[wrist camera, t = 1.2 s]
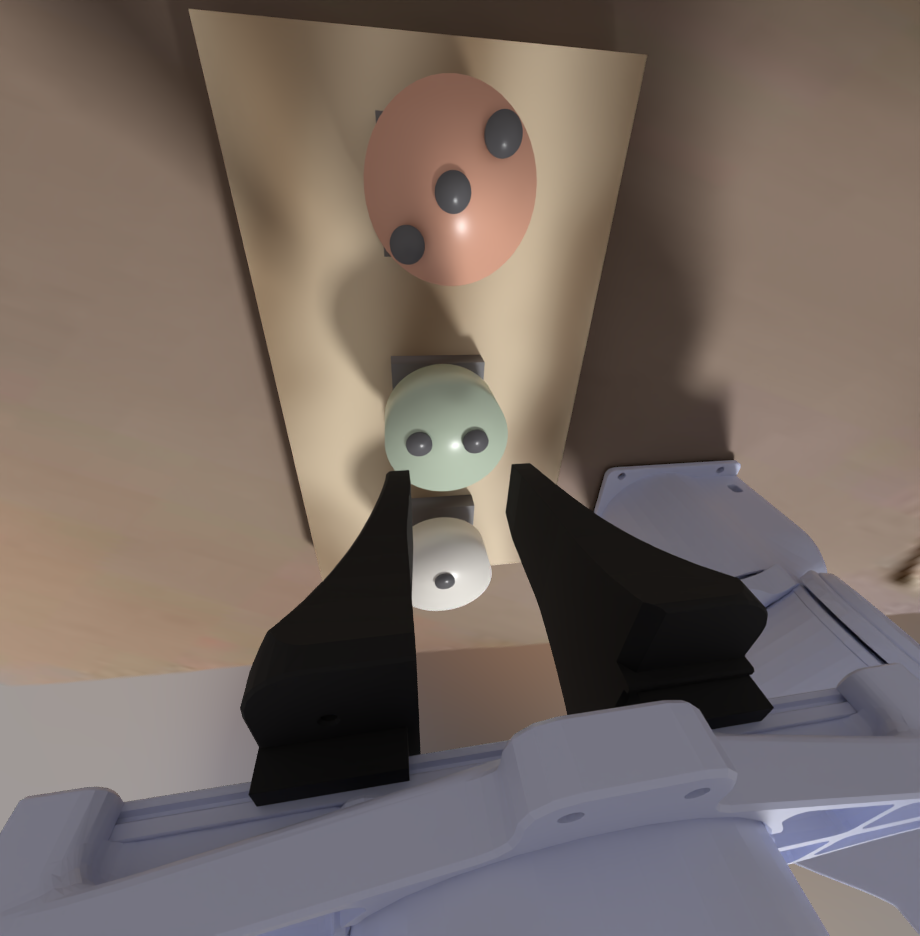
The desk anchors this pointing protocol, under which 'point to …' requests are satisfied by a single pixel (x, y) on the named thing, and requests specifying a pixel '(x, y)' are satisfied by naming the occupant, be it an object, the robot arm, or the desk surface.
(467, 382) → the sage button
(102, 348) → the desk surface
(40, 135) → the desk surface
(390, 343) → the button panel
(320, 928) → the robot arm
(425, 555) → the off-white button
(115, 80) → the desk surface
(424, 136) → the terracotta button
